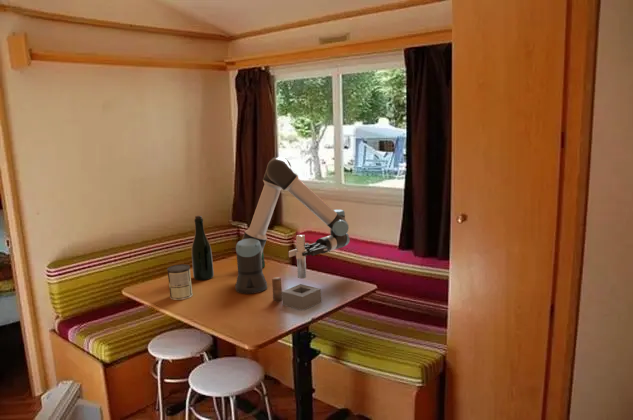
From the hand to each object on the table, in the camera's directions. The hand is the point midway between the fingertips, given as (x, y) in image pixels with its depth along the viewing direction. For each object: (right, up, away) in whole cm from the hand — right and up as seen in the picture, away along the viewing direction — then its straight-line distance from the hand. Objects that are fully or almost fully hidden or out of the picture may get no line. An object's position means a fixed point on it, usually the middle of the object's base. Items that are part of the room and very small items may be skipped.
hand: (293, 254), depth 228 cm
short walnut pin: (-7, -20, -5) cm, 21 cm away
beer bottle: (-48, -15, +34) cm, 61 cm away
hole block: (+4, -20, -10) cm, 23 cm away
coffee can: (-53, -20, +6) cm, 57 cm away
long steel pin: (+4, -11, +6) cm, 13 cm away
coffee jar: (-23, -11, +48) cm, 54 cm away
